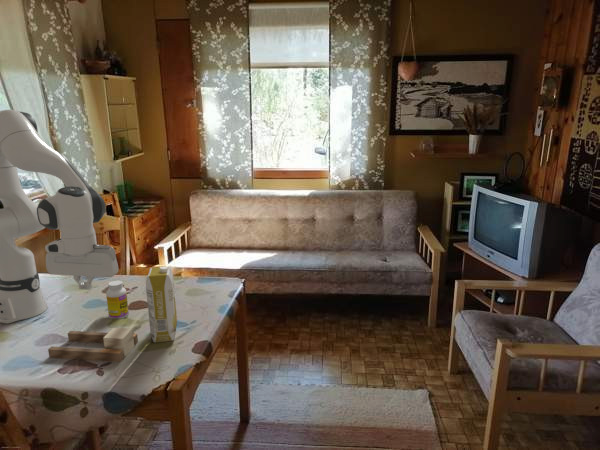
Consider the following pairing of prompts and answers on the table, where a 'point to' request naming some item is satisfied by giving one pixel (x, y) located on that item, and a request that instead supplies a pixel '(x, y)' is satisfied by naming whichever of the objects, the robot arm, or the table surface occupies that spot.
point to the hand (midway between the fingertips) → (85, 288)
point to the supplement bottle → (117, 300)
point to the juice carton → (161, 304)
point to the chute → (88, 353)
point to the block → (120, 340)
